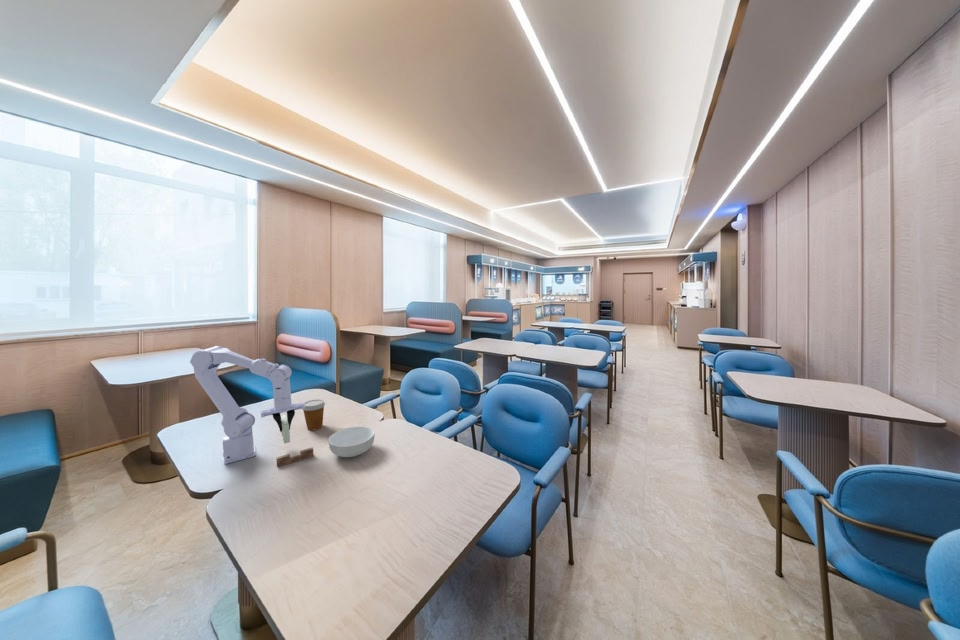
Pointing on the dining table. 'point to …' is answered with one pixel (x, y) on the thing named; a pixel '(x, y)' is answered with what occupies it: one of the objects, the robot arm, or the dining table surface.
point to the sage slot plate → (285, 429)
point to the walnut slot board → (294, 457)
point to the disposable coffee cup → (314, 414)
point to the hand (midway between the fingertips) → (284, 429)
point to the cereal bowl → (351, 441)
